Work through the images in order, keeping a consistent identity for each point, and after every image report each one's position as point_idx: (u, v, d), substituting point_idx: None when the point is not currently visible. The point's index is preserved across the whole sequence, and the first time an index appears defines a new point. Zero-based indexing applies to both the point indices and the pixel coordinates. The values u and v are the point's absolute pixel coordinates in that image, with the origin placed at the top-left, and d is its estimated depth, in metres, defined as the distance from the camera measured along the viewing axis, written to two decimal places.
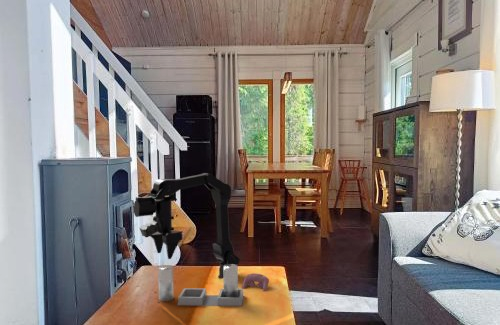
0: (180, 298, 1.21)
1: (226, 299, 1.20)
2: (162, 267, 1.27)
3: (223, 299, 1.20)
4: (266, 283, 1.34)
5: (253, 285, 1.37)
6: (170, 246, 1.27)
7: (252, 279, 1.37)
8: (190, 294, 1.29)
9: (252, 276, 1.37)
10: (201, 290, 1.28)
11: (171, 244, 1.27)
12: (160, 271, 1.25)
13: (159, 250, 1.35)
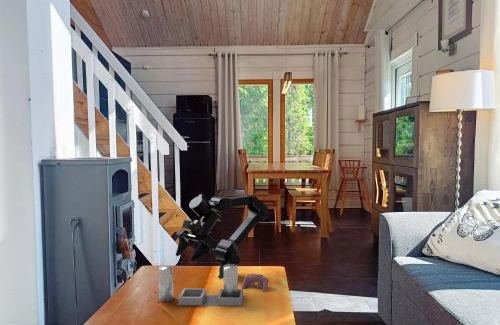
0: (180, 298, 1.21)
1: (226, 299, 1.20)
2: (162, 267, 1.27)
3: (223, 299, 1.20)
4: (266, 283, 1.34)
5: (253, 285, 1.36)
6: (200, 250, 1.31)
7: (252, 279, 1.36)
8: (190, 294, 1.29)
9: (252, 276, 1.36)
10: (201, 290, 1.28)
11: (202, 249, 1.31)
12: (160, 271, 1.25)
13: (178, 253, 1.36)
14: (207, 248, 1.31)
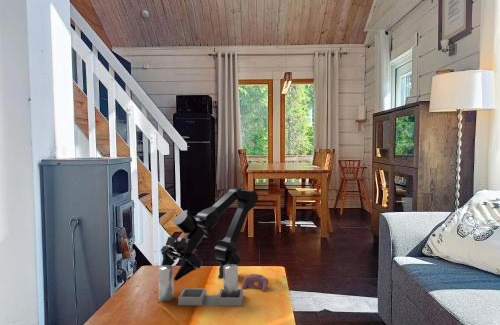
0: (180, 298, 1.21)
1: (226, 299, 1.20)
2: (162, 267, 1.27)
3: (223, 299, 1.20)
4: (266, 284, 1.34)
5: (253, 286, 1.36)
6: (184, 268, 1.26)
7: (252, 280, 1.36)
8: (190, 294, 1.29)
9: (252, 277, 1.36)
10: (201, 290, 1.28)
11: (186, 267, 1.26)
12: (160, 271, 1.25)
13: None
14: (191, 267, 1.26)
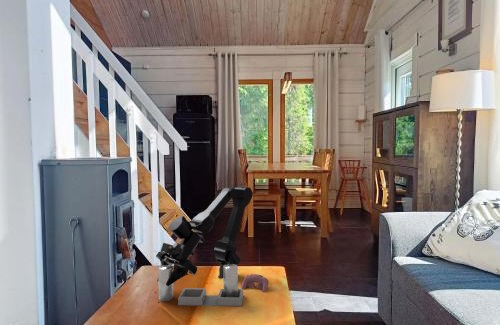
0: (180, 298, 1.21)
1: (226, 299, 1.20)
2: (162, 267, 1.27)
3: (223, 299, 1.20)
4: (266, 284, 1.33)
5: (252, 286, 1.36)
6: (176, 274, 1.25)
7: (251, 280, 1.36)
8: (190, 294, 1.29)
9: (251, 277, 1.36)
10: (201, 290, 1.28)
11: (178, 273, 1.26)
12: (160, 271, 1.25)
13: None
14: (183, 272, 1.26)
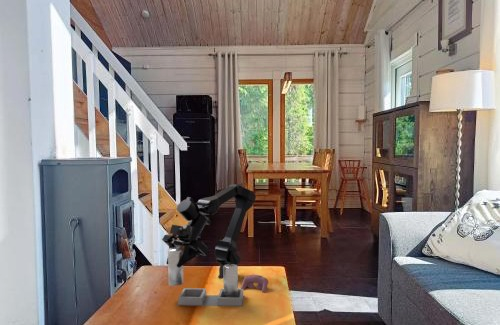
0: (180, 298, 1.21)
1: (226, 299, 1.20)
2: (171, 249, 1.25)
3: (223, 299, 1.20)
4: (265, 284, 1.33)
5: (252, 286, 1.36)
6: (187, 255, 1.25)
7: (251, 280, 1.35)
8: (190, 294, 1.29)
9: (251, 277, 1.35)
10: (201, 290, 1.28)
11: (188, 254, 1.25)
12: (170, 253, 1.23)
13: None
14: (194, 253, 1.25)
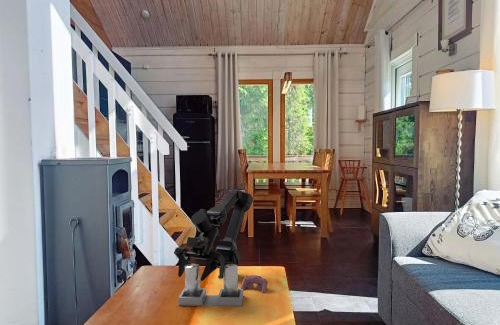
0: (180, 298, 1.21)
1: (226, 299, 1.20)
2: (188, 266, 1.25)
3: (223, 299, 1.20)
4: (265, 285, 1.33)
5: (252, 287, 1.35)
6: (209, 267, 1.24)
7: (251, 281, 1.35)
8: None
9: (251, 278, 1.35)
10: (201, 290, 1.28)
11: (210, 266, 1.25)
12: (189, 270, 1.22)
13: (180, 274, 1.26)
14: (216, 265, 1.25)
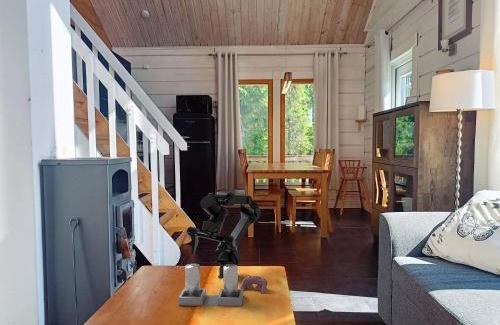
0: (180, 298, 1.21)
1: (226, 299, 1.20)
2: (189, 266, 1.25)
3: (223, 299, 1.20)
4: (264, 285, 1.32)
5: (251, 287, 1.34)
6: (222, 249, 1.34)
7: (250, 281, 1.34)
8: None
9: (250, 278, 1.34)
10: (201, 290, 1.28)
11: (222, 248, 1.35)
12: (189, 270, 1.23)
13: (193, 253, 1.35)
14: (228, 247, 1.36)
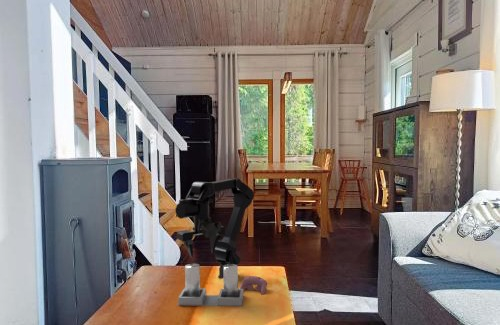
0: (180, 298, 1.21)
1: (226, 299, 1.20)
2: (189, 266, 1.25)
3: (223, 299, 1.20)
4: (264, 286, 1.31)
5: (251, 288, 1.34)
6: None
7: (250, 282, 1.34)
8: None
9: (250, 279, 1.34)
10: (201, 290, 1.28)
11: None
12: (189, 270, 1.23)
13: None
14: None
